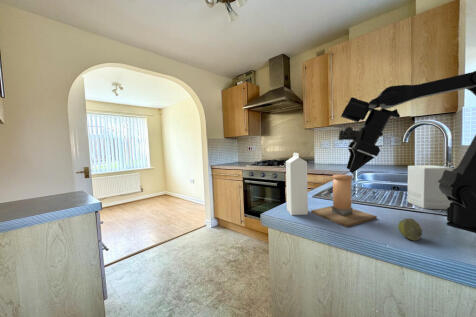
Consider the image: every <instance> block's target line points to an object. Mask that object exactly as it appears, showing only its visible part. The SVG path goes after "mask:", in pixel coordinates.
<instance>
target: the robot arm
mask: <svg viewBox="0 0 476 317" xmlns="http://www.w3.org/2000/svg"><path fill="white" fill-rule="evenodd" d="M461 90H467V91H470V92H471V93H472V94H473V95H474V96H475V97H476V70H475V71H472V72H467V73H463V74H458V75H454V76H448V77H445V78H441V79H436V80H433V81H428V82H424V83H419V84H418V83H417V84H401V85H400V84H399V85H392V86H389V87H386V88H385V89H383V90H382V91H381V92H380V93H379V94H378V95H377V97H376V98H372V99H371V100H370V101H369V102H368V101H365V100H361V99H358V98H356V97H353V96H352V97H350V99H349V101H348V103H347V104H346V106H345V108H344V109H343V111H342V113H341V116H340V117H341V118H343V119H346V120H349V121H352V122H355V123H359V122H360V121H364V120H365V121H364V123H363V124H362V127H360V128H358V130H354V129H353V128H352V127H351V126H346V127H345V129H344V130H343V129H342V130H338V138H337V139H338V140H337V141H344V140H345V141H348V140H349V141H350V142H349V143H348V146H347V150H348V152H349V157H348V161H347V166H346V169H348V170H349V173H351V174H354V173H356V171H358V170H359V169H361V168H362V167H363V166H364V165H366V164H368V163H369V162H370V161H371V160H373V159H375V157H378V156H379V153H380V152H381V149H380V147H379V146H378V145H376V144H377V143H378V141H379V139H380V138H381V137H382V136H383V135H384V133H383V132H384V130H385V128H386V127H387V125H388V123H389V121H390V119H394V120H395V119H396V120H397V119H399V118H401V115H400V113H399V111H398V109H397V108H395V109H393V110H389V109H391V108H394V107H398V106H400V105H403V104H404V103H405V104H406V103H408V102H410V101H411V102H412V101H414V100H416V99H422V98H427V97H432V96H438V95H441V94H447V93H453V92H456V91H461ZM379 108H380V109H379ZM438 182H439V183H440V185H439V189H440V190H441V192H442V193H443V194H444V195H446V196H447V198H448V200H449V201H452V203H450V207H448V208H447V209H446V221H447V222H446V223H445V224H446V225H447V226H451V227H453V228H458V229H462V230H467V231H469V232H470V231H471V232H474V233H476V134H475V135H474V137H473V139H472V141H471V142H470V144H469V146H468V148H467V149H466V151H465V153H464V155H463V157H462V159H461V160H460V162H459V165H458V166H457V167H455V168H453V171H448V170H445V171H444V172H443V176H442V178H441V179H440V180H439V181H438Z"/></svg>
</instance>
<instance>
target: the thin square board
mask: <svg viewBox="0 0 476 317" xmlns="http://www.w3.org/2000/svg"><path fill="white" fill-rule="evenodd" d="M310 212H311V213H310V214H314V215H316V216H318V217H321V218H324V219H326V220H328V221H330V222H333V223H334V224H337V225H341V226H343V227H345V228H348V227H352V226H356V225H358V224H364V223H367V222H369V221H370V222H371V221H373V220H377V219H378V216H377V215H373V214H371V213H367V212H365V211H361V210H358V209H355V208H353V206H351V209H348V210H343V209H337V208H335V207H333V205H330V206H325V207H321V208H316V209H312V210H310Z"/></svg>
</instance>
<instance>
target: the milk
mask: <svg viewBox="0 0 476 317" xmlns="http://www.w3.org/2000/svg"><path fill="white" fill-rule="evenodd" d="M285 176H286V177H285V184H286V186H285V187H286V210H287V212H288V213H290V215H291V216H302V215H304V216H306V215H308V214H309V205H308V204H309V201H308V200H309V198H308V197H309V196H308V193H309V191H308V162H307V161H306V160H305V159H302V158H300V154H299V152H293V154H292V157H290V158H288V159H287V160H285Z"/></svg>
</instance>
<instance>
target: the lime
mask: <svg viewBox="0 0 476 317" xmlns="http://www.w3.org/2000/svg"><path fill="white" fill-rule="evenodd" d="M398 231H399V233H401V234H402V236H404V237H405V238H406V239H408V240H411V241H418V240H419V239H420V238H421V237H422V235H423V229H422V227H421V225H420V223H419V222H418V221H416V220H415V219H413V218H404V219H402V220H400V221H399V222H398Z"/></svg>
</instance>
